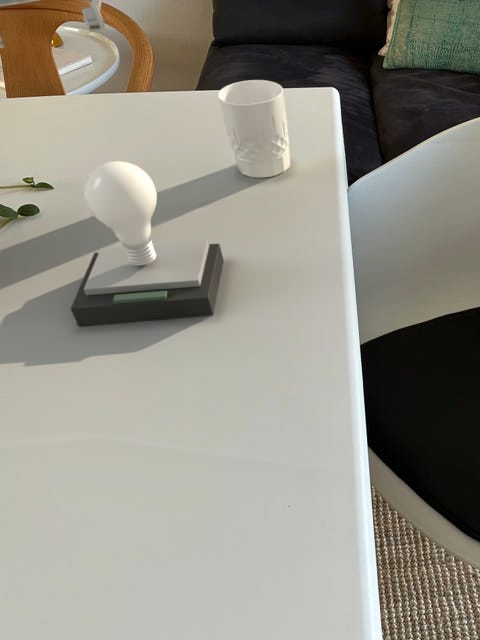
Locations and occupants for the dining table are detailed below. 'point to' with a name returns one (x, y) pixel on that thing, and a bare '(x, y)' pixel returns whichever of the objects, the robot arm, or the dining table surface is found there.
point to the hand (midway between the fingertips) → (47, 37)
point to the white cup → (256, 126)
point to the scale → (150, 284)
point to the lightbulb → (124, 206)
